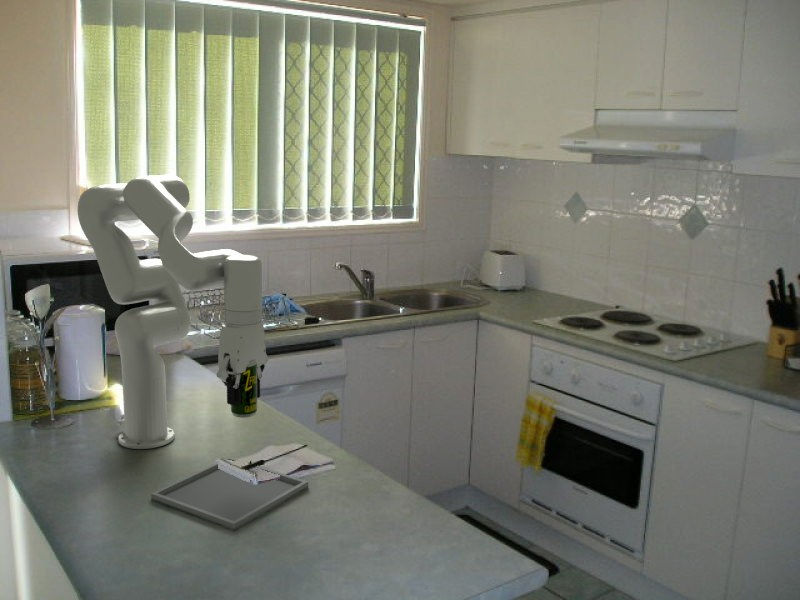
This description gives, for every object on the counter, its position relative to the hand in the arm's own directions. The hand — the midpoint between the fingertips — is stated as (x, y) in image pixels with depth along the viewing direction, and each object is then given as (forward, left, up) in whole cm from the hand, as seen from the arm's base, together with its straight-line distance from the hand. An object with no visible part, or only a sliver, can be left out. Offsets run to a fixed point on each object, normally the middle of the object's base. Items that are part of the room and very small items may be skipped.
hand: (243, 399), depth 172 cm
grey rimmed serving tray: (+4, -8, -17) cm, 19 cm away
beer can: (0, 0, -3) cm, 3 cm away
